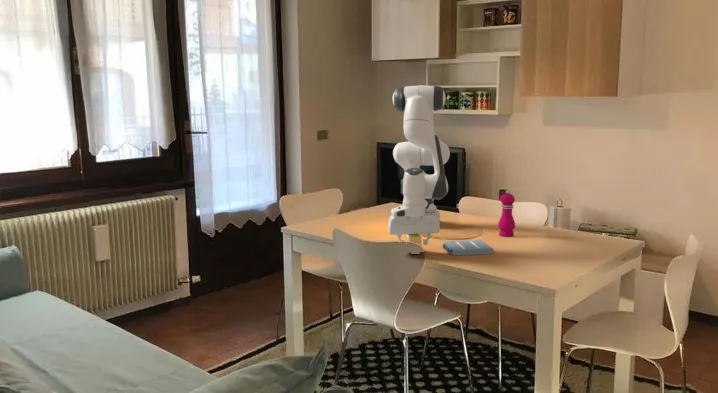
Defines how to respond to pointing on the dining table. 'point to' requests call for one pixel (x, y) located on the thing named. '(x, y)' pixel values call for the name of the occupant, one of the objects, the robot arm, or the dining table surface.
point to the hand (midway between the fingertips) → (413, 244)
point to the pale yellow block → (414, 238)
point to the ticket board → (467, 247)
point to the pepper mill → (506, 215)
